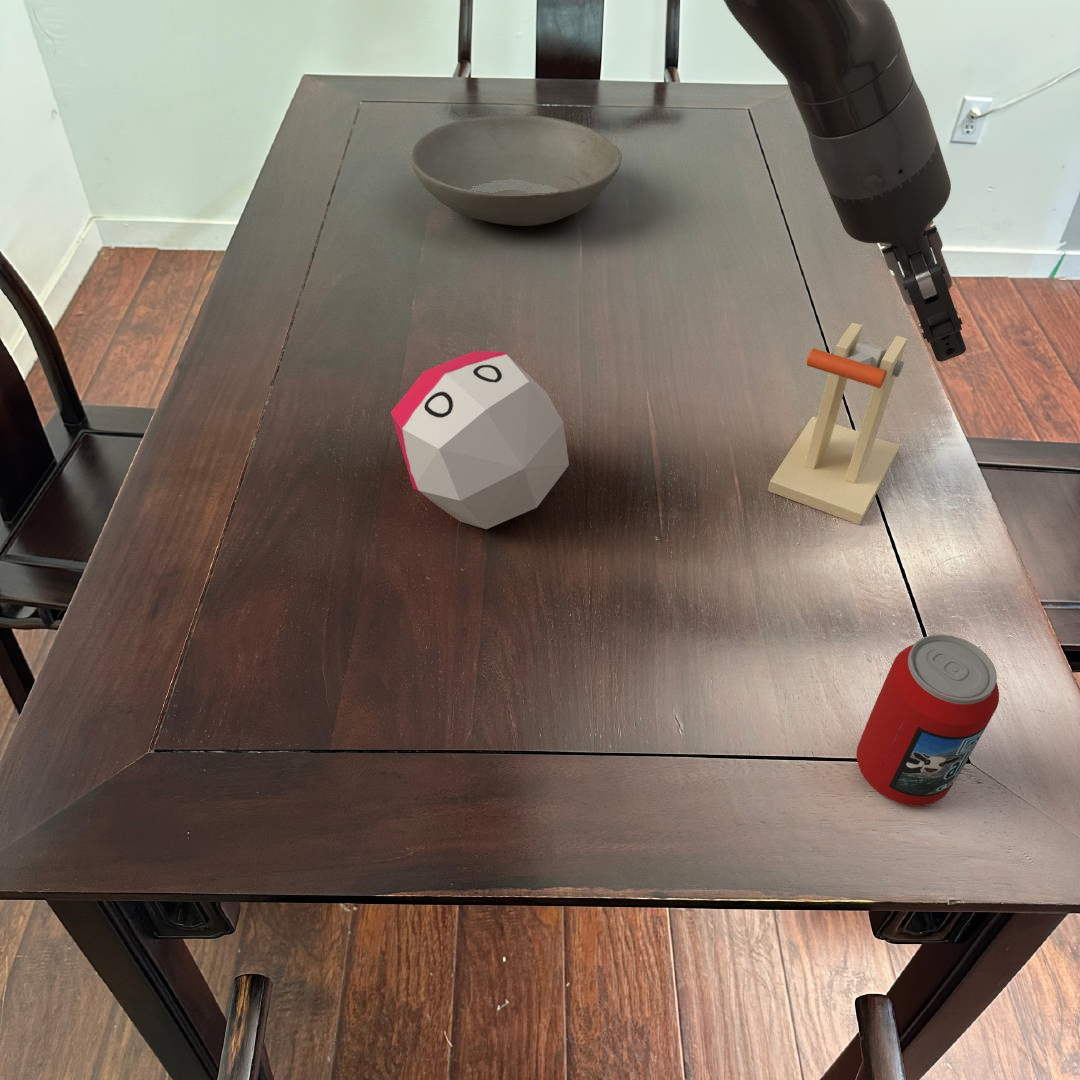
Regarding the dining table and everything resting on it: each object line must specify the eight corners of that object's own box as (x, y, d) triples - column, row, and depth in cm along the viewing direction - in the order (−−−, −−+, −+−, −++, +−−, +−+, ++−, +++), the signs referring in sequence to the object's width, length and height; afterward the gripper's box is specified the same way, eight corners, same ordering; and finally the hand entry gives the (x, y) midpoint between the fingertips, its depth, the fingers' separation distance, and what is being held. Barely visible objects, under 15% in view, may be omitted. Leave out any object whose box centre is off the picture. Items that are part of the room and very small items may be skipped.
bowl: (623, 258, 124) (629, 196, 118) (406, 255, 124) (400, 193, 118) (612, 170, 144) (616, 113, 138) (424, 167, 144) (420, 109, 138)
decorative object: (471, 301, 88) (560, 344, 77) (532, 425, 97) (619, 479, 86) (338, 396, 85) (411, 455, 74) (415, 515, 94) (489, 583, 83)
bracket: (859, 525, 88) (904, 392, 78) (767, 491, 92) (798, 358, 81) (896, 455, 96) (942, 325, 86) (809, 426, 99) (843, 297, 89)
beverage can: (912, 830, 66) (969, 728, 58) (833, 764, 70) (876, 659, 62) (968, 776, 69) (1030, 672, 61) (889, 716, 73) (938, 610, 65)
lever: (876, 395, 75) (887, 365, 74) (802, 371, 77) (812, 342, 76) (898, 381, 85) (908, 355, 84) (832, 361, 87) (841, 335, 87)
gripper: (961, 187, 60) (1014, 360, 70) (910, 76, 69) (963, 245, 79) (842, 241, 63) (910, 399, 74) (808, 129, 72) (872, 284, 82)
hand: (937, 319), depth 76 cm, fingers open, 8 cm apart
